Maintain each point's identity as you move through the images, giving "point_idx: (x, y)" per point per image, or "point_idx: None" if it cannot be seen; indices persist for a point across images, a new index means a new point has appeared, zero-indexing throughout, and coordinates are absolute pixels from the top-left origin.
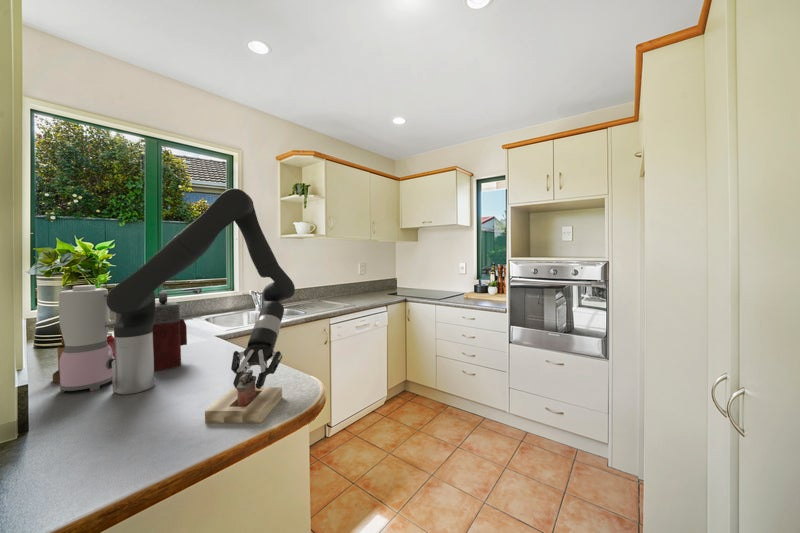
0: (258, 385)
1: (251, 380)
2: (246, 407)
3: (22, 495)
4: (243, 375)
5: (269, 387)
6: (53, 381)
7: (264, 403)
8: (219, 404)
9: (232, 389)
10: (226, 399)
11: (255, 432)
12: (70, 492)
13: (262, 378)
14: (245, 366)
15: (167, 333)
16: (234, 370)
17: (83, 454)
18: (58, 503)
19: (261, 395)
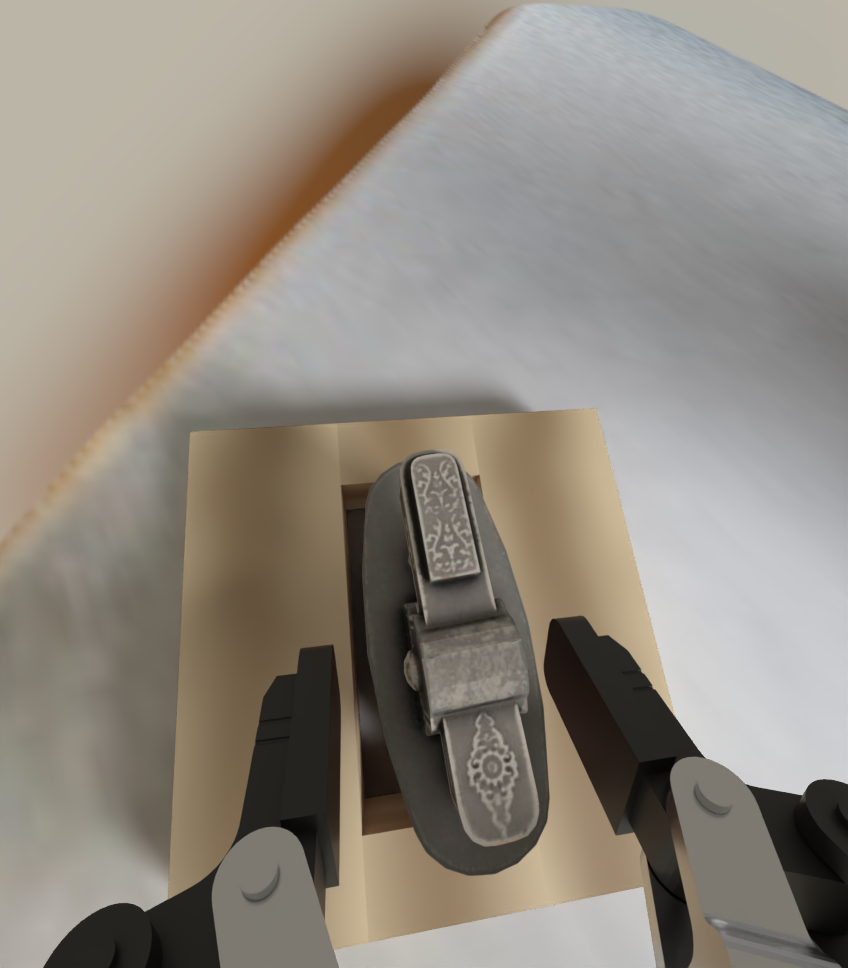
0: (301, 659)
1: (409, 686)
2: (333, 474)
3: (742, 76)
4: (453, 524)
5: None
6: None
7: (212, 549)
8: (570, 500)
9: None
10: (580, 585)
11: (208, 370)
12: (633, 79)
13: (265, 751)
14: (693, 941)
15: None
16: (797, 807)
17: (820, 214)
18: (614, 52)
19: None
